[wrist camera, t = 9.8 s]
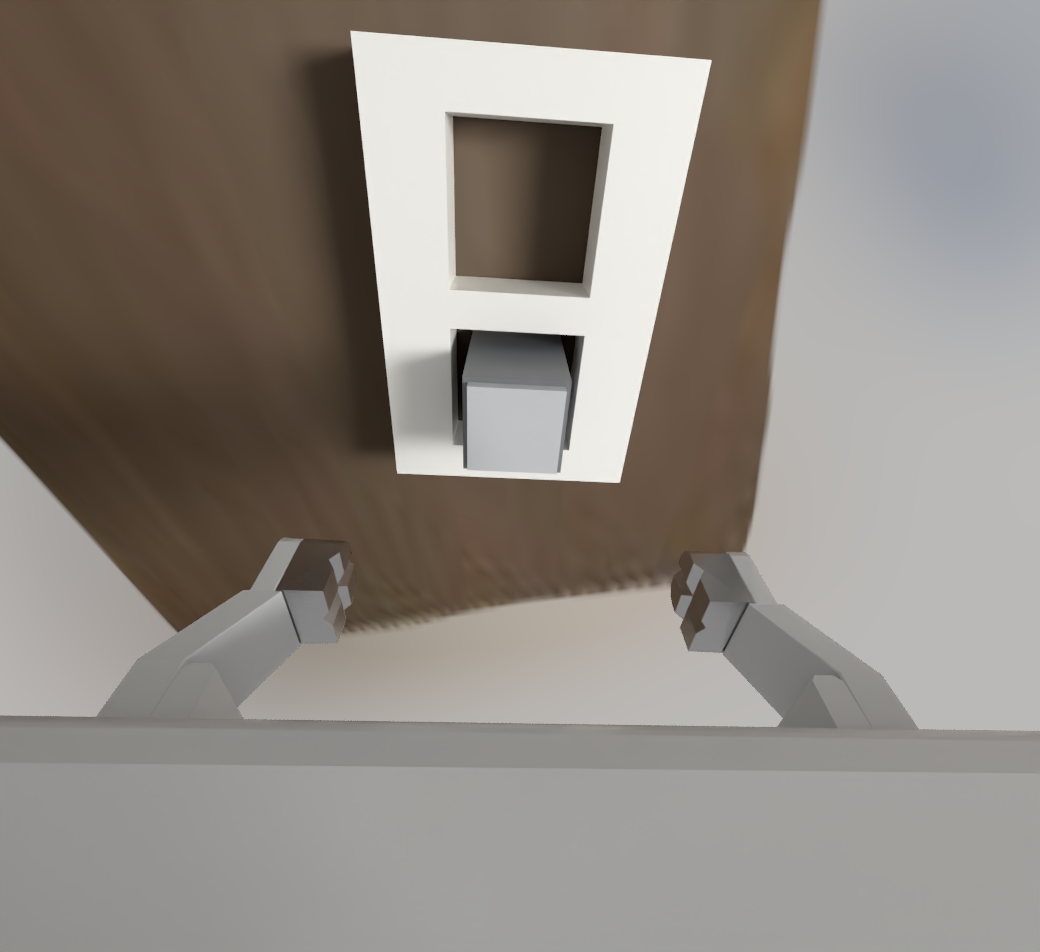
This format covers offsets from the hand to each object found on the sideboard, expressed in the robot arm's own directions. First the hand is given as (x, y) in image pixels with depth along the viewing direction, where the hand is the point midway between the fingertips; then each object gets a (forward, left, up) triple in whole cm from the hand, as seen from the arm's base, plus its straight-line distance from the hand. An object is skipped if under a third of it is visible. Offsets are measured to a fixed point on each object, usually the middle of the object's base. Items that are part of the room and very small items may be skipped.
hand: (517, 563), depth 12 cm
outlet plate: (-3, 0, -13) cm, 14 cm away
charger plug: (+1, 0, -13) cm, 13 cm away
